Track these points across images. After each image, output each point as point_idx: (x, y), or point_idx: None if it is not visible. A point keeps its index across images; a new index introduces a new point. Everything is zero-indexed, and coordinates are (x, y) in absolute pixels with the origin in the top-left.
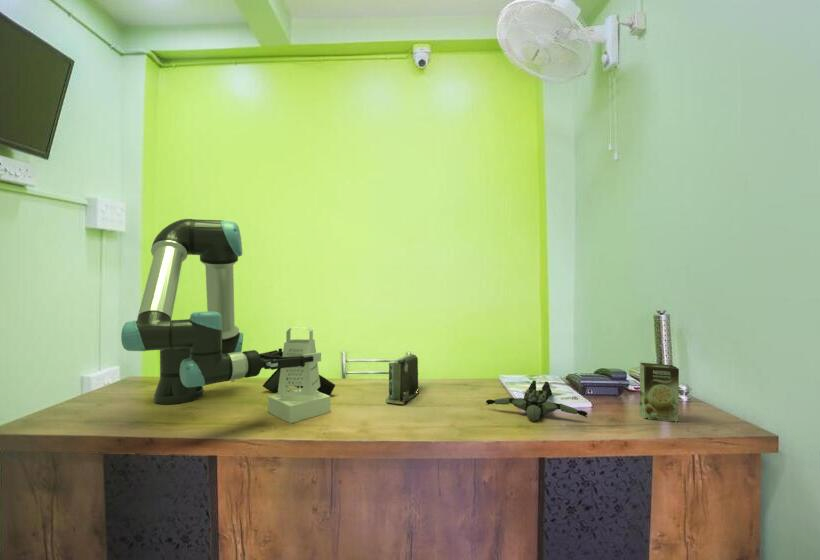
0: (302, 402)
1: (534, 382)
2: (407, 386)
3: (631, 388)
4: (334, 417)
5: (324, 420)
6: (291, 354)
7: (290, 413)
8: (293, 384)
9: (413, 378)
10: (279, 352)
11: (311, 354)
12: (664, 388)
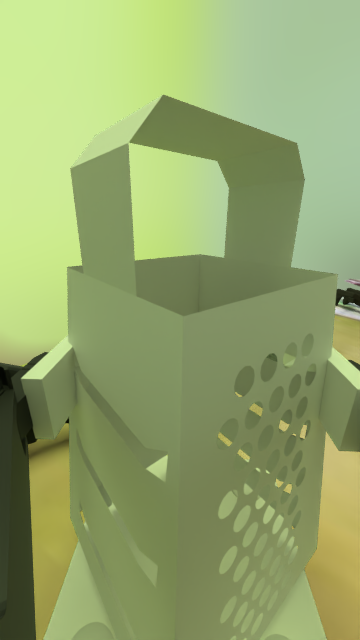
0: (308, 621)
1: (348, 291)
2: None
3: (349, 282)
4: (328, 528)
5: (352, 582)
6: (78, 375)
7: None
8: (261, 592)
9: None
10: (13, 419)
11: (334, 350)
12: None
